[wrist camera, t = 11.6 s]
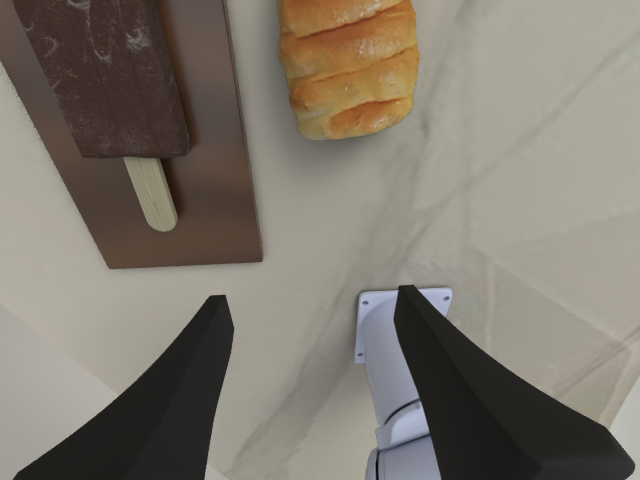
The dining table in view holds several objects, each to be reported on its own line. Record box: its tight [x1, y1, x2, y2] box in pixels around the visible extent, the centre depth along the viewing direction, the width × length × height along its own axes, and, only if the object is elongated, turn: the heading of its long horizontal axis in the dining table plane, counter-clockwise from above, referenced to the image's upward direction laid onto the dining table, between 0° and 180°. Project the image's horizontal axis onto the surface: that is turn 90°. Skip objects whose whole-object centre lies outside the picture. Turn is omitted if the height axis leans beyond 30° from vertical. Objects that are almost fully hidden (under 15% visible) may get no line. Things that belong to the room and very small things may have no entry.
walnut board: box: [0, 0, 264, 269], centre depth 16 cm, size 22×11×1 cm, turn 0°
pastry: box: [277, 0, 419, 140], centre depth 13 cm, size 9×7×4 cm
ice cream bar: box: [11, 0, 192, 232], centre depth 15 cm, size 5×2×15 cm
